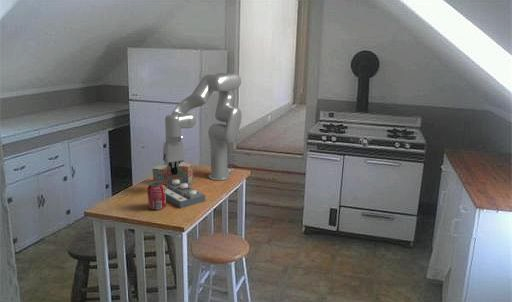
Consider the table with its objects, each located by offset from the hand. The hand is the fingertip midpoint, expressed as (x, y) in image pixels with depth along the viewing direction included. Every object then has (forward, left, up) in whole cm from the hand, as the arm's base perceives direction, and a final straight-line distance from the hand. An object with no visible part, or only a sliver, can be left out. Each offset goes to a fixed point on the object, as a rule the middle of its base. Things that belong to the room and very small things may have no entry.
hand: (174, 174), depth 203 cm
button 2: (-1, +16, -7) cm, 17 cm away
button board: (+1, +8, -10) cm, 13 cm away
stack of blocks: (-6, -13, -11) cm, 18 cm away
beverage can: (+16, +11, -11) cm, 22 cm away
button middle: (-1, +8, -6) cm, 10 cm away
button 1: (-1, 0, -5) cm, 5 cm away
